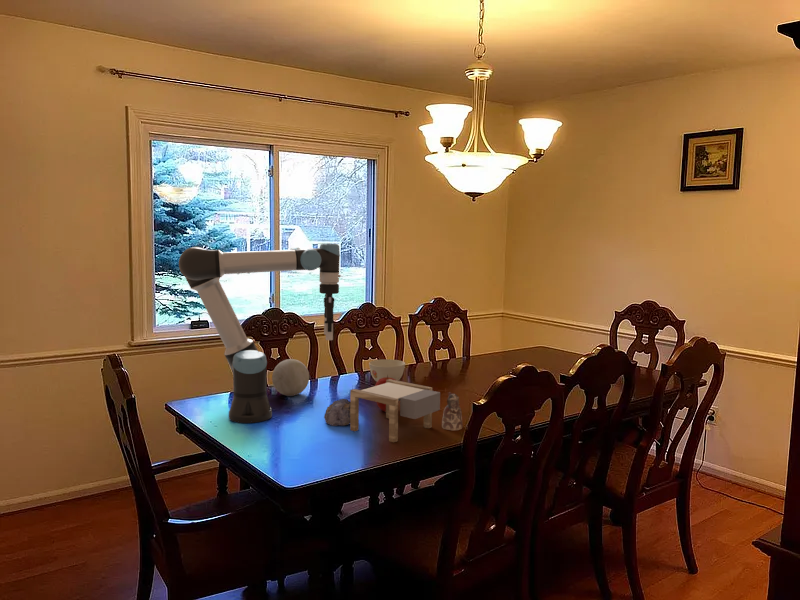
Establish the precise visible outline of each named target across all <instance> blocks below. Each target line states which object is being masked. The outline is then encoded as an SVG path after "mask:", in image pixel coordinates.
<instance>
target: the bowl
mask: <svg viewBox="0 0 800 600" xmlns="http://www.w3.org/2000/svg"><path fill="white" fill-rule="evenodd" d="M368 365H369V367H368V368H369V371H370V374H371V377H372V378H373V379H374V381H375V382H377V381H378V380H379V379H381V378H384V377H387V375H388V377H389V378H393V379H396V380H397V381H401V378H402V377H403V375H404V370H405V368H406V367H405V366H406V362H405V361H402V360H398V359H391V358H389V359H387V358H386V359H374V360H371V361H369V362H368Z"/></svg>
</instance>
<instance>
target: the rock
mask: <svg viewBox="0 0 800 600" xmlns="http://www.w3.org/2000/svg"><path fill="white" fill-rule="evenodd" d="M323 418H324V421H325V423H326V424H328V425H330V426H332V427H337V426H347V425H350V400H348V399H347V398H340V399H338V400H334V401H333V402H332V403H331V404H329V406H327V407H326V410H325V413H324V416H323Z"/></svg>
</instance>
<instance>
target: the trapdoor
mask: <svg viewBox="0 0 800 600" xmlns="http://www.w3.org/2000/svg"><path fill="white" fill-rule="evenodd" d="M361 390H362V391H366V392H370V393H375V394H379V395H384V396H388V397H393V398H397V399H398V401H399V405H400V406H399V416H400V417H404V418H408V419H413V420H416V419H420V418H422V417H424V416H425V415H427V414H430V413H432V414H433V413H436V412H438V411H440V410H441V392H440V391H436V390H435V391H434V390H432V391H431V390H423V389H419V388H414V387H409V386H404V385H399V384H394V383H389V382H388V383H385V384H381V385H378V386H375V385H374V386H371V387H368V388H364V389H361Z"/></svg>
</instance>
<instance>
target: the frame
mask: <svg viewBox="0 0 800 600" xmlns="http://www.w3.org/2000/svg"><path fill="white" fill-rule="evenodd" d="M388 382H389V383H394V384H399V385H404V386H409V387H414V388H419V389H423V390H431V391H433V386H432V387H431V386H426V385H421V384H417V383H411V382H407V381H406V382H405V381H401V380H399V381H397V380H392V379H388V380H386V383H388ZM362 390H363V389H356V388H353V389H350V395H349V396H350V397H349V398H350V400H349V401H350V424H349V425H350V426H349V428H350V431H352V432H356V431H359V429H360V428H359V427H360V425H359V423H360V422H359V421H360V420H359V419H360V413H359V412H360V408H359V407H360V399H363V400H366V401H371V402H375V403H377V402H379V403H383V404H386V412H385V418H386V419H388V441H389V442H390V443H396V442H398V441H399V440H398V439H399V438H398V437H399V434H398V433H399V432H398V431H399V403H398V399H397V398H393V397H388V396H384V395H379V394H375V393H370V392H366V391H362ZM432 421H433V413H430V414H427V415H425V416H423V428H425V429H430V428H432V425H433V424H432V423H433V422H432Z"/></svg>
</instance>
